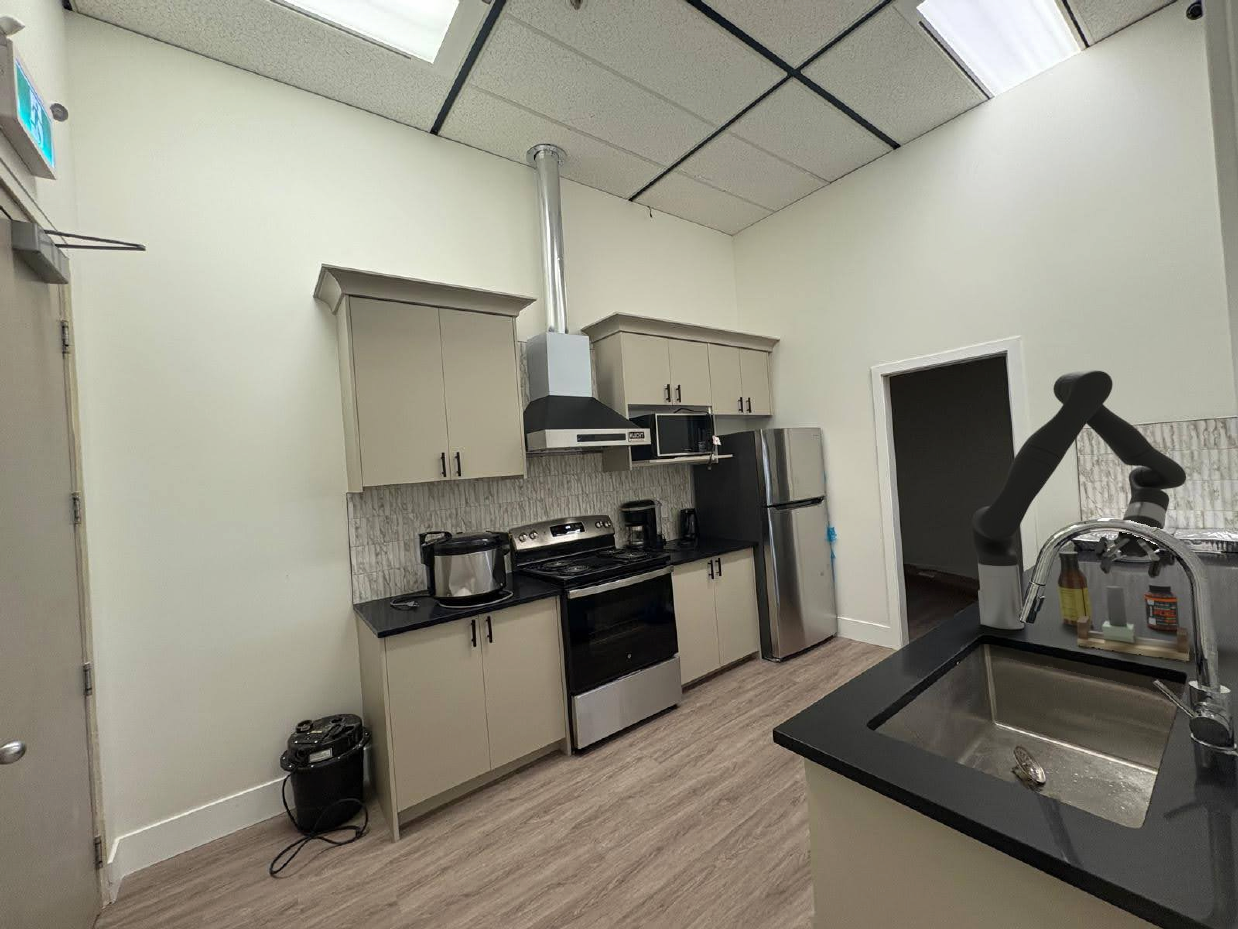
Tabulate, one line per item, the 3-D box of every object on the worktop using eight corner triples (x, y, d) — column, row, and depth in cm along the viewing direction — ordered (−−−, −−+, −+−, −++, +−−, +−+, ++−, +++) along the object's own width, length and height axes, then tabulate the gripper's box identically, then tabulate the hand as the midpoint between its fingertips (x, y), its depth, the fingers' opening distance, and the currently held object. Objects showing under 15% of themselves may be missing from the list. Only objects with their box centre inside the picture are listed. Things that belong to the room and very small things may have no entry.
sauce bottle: (1080, 621, 143) (1073, 550, 144) (1099, 627, 137) (1091, 552, 138) (1055, 621, 144) (1048, 551, 145) (1073, 628, 137) (1065, 554, 138)
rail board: (1078, 645, 124) (1075, 622, 124) (1084, 637, 130) (1082, 615, 130) (1188, 661, 110) (1185, 636, 111) (1189, 651, 116) (1187, 627, 116)
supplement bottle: (1154, 630, 132) (1150, 586, 132) (1142, 624, 137) (1137, 582, 138) (1186, 631, 129) (1181, 587, 130) (1171, 625, 135) (1167, 582, 135)
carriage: (1103, 639, 122) (1098, 588, 122) (1106, 634, 125) (1101, 584, 126) (1133, 643, 118) (1127, 590, 118) (1135, 637, 122) (1130, 586, 122)
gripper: (1101, 513, 137) (1085, 561, 131) (1176, 514, 124) (1162, 567, 119) (1112, 531, 139) (1096, 579, 133) (1187, 534, 126) (1173, 587, 121)
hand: (1127, 573), depth 126 cm, fingers open, 8 cm apart
